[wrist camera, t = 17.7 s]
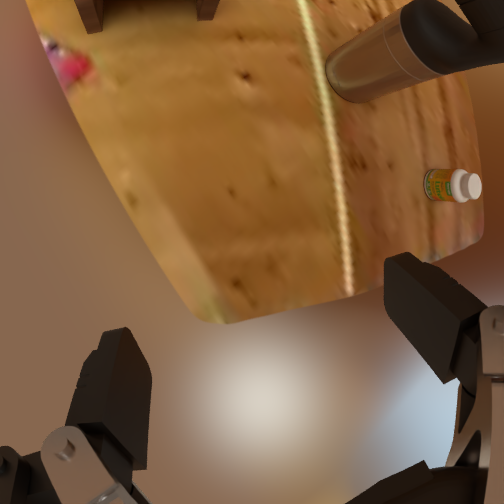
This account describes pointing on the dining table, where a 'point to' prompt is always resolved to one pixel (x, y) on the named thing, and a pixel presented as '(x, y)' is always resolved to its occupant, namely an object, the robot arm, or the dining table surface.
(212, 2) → the walnut stand
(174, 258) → the dining table surface
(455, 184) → the supplement bottle
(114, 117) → the dining table surface
